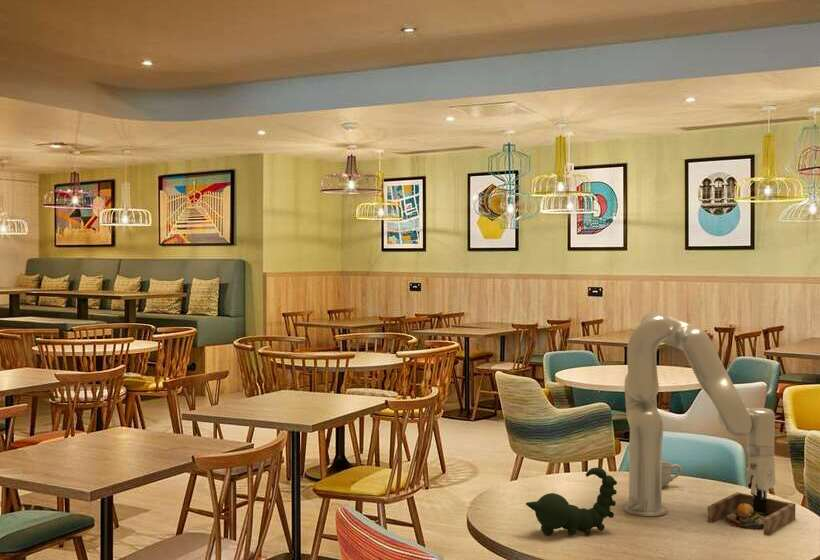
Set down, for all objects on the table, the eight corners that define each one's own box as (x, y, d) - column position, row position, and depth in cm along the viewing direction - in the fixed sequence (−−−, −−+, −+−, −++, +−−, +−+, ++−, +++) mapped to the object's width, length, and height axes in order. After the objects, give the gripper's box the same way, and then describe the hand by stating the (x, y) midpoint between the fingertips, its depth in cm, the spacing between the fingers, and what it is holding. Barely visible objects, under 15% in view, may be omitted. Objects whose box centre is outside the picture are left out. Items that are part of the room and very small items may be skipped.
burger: (778, 528, 242) (779, 502, 242) (743, 532, 239) (743, 505, 239) (750, 516, 254) (750, 491, 253) (716, 519, 250) (717, 494, 250)
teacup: (635, 488, 282) (636, 464, 282) (640, 480, 292) (640, 457, 292) (679, 492, 277) (680, 468, 277) (682, 484, 287) (682, 460, 287)
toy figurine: (602, 531, 244) (517, 528, 239) (609, 464, 244) (524, 460, 239) (616, 542, 235) (528, 539, 230) (623, 472, 234) (535, 468, 230)
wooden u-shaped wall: (768, 535, 235) (768, 519, 235) (707, 521, 247) (707, 506, 247) (795, 519, 250) (795, 503, 249) (736, 506, 262) (736, 492, 262)
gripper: (763, 456, 244) (762, 520, 245) (783, 448, 255) (782, 508, 255) (737, 452, 249) (736, 514, 250) (758, 444, 260) (757, 503, 261)
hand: (759, 511), depth 253 cm, fingers closed
